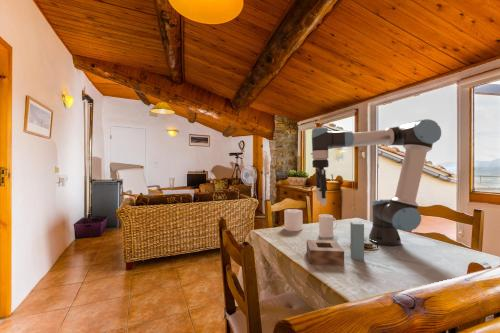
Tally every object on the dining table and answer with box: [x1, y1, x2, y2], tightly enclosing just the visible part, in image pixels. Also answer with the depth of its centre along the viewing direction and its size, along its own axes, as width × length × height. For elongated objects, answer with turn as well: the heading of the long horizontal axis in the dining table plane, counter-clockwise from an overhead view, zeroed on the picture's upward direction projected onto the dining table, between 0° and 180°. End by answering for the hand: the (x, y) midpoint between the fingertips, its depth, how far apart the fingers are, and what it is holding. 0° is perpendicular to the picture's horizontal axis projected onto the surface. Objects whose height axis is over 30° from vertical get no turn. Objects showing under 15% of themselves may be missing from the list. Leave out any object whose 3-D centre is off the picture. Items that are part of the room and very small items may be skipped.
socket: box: [306, 239, 345, 266], centre depth 108 cm, size 14×14×6 cm
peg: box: [350, 221, 365, 261], centre depth 108 cm, size 4×4×16 cm
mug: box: [318, 213, 337, 239], centre depth 141 cm, size 12×8×12 cm
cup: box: [283, 208, 304, 232], centre depth 156 cm, size 12×12×12 cm
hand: (321, 202), depth 116 cm, fingers open, 13 cm apart
